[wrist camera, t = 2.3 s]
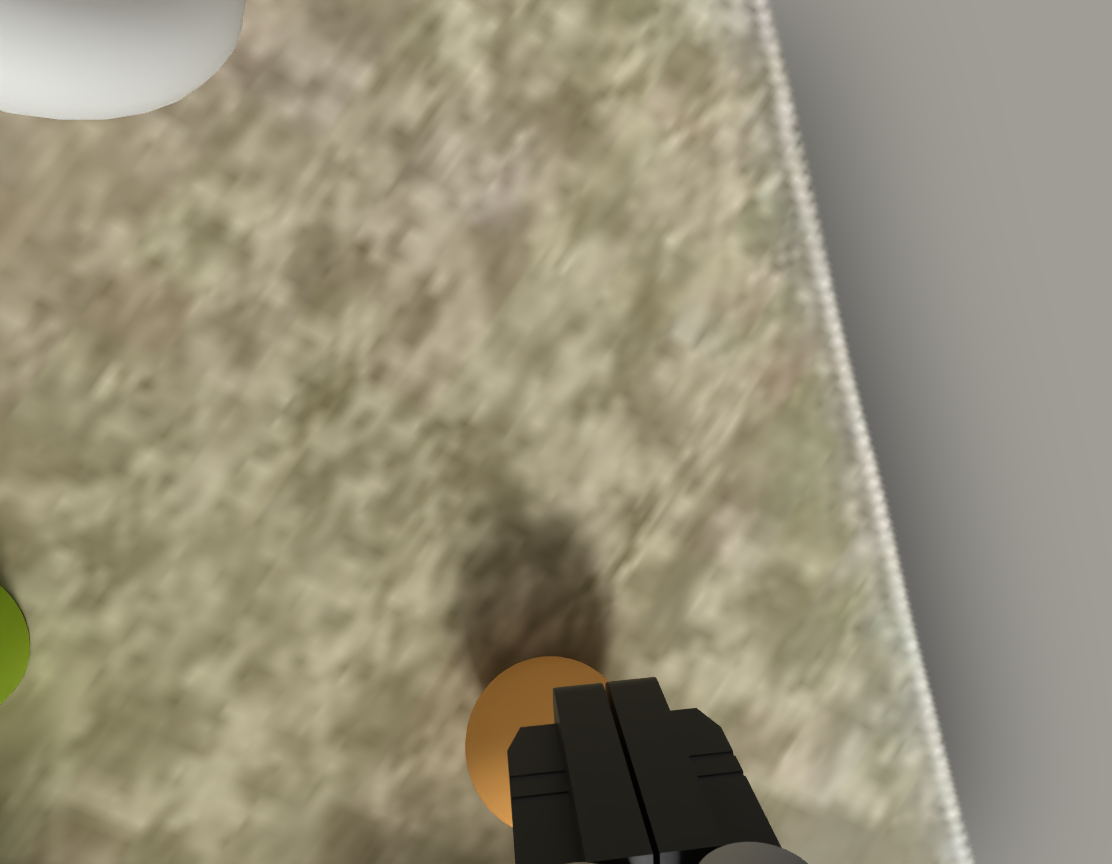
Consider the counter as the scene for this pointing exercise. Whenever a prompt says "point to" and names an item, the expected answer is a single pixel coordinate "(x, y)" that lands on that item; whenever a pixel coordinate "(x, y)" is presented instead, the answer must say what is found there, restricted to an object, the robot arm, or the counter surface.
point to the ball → (514, 720)
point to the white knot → (110, 54)
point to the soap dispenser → (12, 645)
